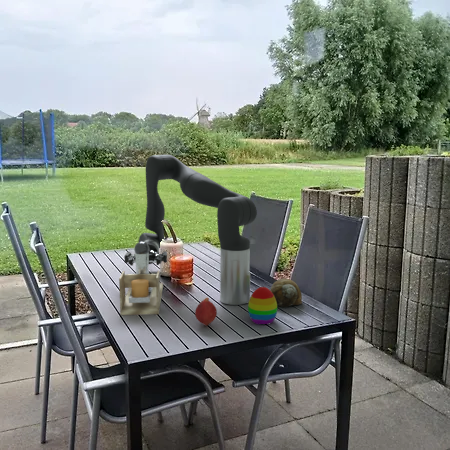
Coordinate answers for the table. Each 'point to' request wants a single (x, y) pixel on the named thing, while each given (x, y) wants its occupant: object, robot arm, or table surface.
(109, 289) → the table surface
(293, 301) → the seashell
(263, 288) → the decorative egg
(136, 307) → the frame
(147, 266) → the shaft
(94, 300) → the table surface
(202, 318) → the onion
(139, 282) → the rounded orange object
